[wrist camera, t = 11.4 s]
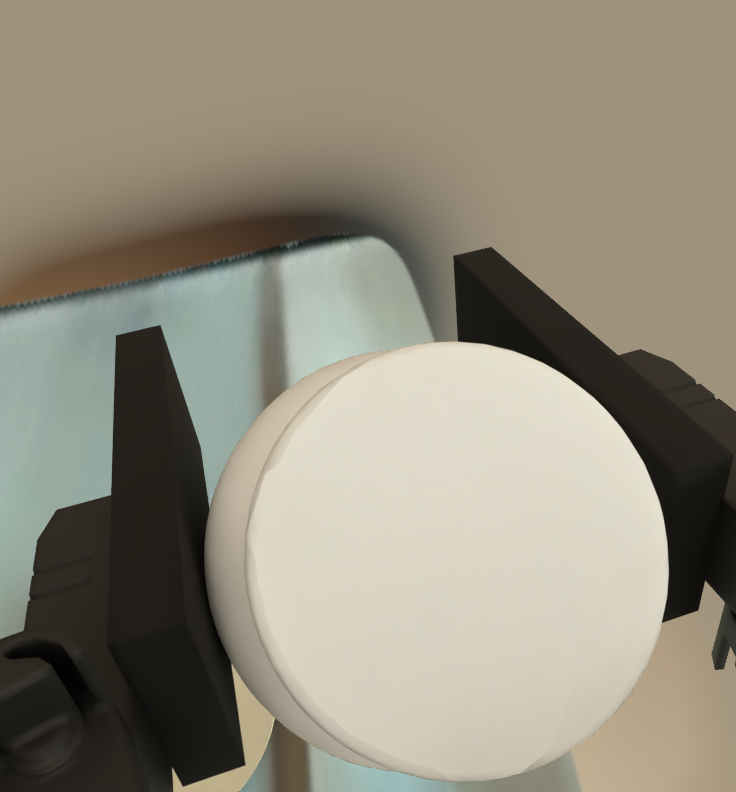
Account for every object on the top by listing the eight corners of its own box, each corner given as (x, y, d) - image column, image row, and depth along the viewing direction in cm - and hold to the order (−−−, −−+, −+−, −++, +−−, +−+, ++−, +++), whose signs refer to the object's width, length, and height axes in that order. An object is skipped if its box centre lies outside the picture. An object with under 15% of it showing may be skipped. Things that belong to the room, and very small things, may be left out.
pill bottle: (370, 381, 17) (478, 164, 7) (525, 555, 16) (859, 567, 7) (188, 536, 15) (30, 522, 6) (350, 728, 15) (456, 1040, 6)
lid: (-30, 768, 31) (-182, 875, 21) (97, 525, 33) (16, 517, 23) (209, 873, 31) (172, 1030, 21) (317, 623, 34) (329, 656, 24)
